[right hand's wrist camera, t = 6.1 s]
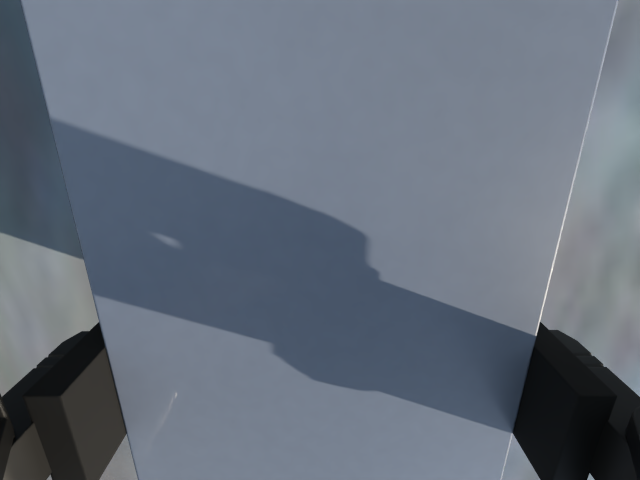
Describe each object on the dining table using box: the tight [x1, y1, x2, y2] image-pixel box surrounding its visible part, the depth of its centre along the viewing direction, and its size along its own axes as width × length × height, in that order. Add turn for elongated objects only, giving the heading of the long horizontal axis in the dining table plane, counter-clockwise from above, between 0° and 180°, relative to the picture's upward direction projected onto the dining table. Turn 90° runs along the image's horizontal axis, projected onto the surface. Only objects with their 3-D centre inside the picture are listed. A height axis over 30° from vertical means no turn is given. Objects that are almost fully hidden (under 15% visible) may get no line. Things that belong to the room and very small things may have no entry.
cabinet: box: [20, 0, 618, 480], centre depth 12 cm, size 20×10×10 cm, turn 0°
